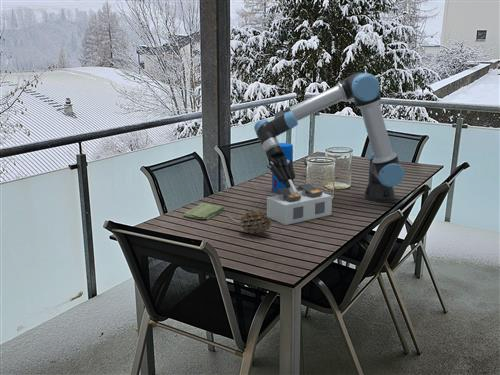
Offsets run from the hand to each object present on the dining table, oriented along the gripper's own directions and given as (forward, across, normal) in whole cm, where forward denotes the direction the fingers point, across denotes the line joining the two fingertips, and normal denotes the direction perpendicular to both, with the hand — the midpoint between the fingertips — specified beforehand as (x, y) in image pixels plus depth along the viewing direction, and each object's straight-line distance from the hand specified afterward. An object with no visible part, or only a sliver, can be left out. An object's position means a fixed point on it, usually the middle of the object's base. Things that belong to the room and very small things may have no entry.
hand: (294, 193), depth 220 cm
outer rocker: (-2, 0, -4) cm, 5 cm away
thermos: (-22, -24, -39) cm, 51 cm away
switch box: (+6, -6, -12) cm, 15 cm away
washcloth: (-12, +29, -31) cm, 44 cm away
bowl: (-32, -60, -48) cm, 83 cm away
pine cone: (+10, +25, -9) cm, 28 cm away
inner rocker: (-2, -12, -4) cm, 13 cm away
